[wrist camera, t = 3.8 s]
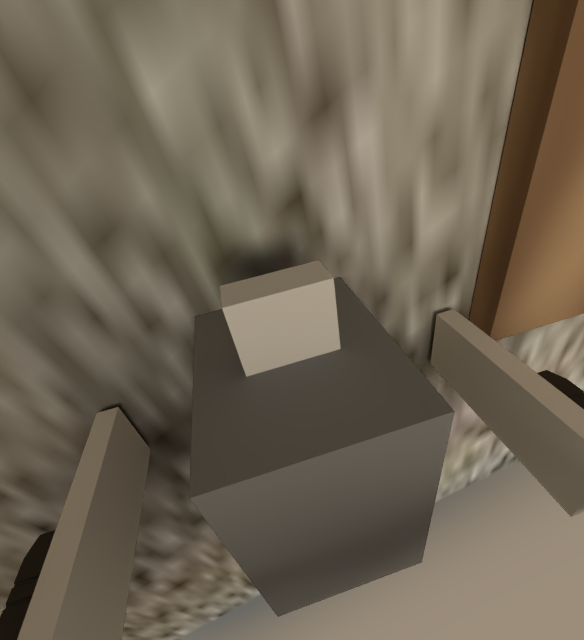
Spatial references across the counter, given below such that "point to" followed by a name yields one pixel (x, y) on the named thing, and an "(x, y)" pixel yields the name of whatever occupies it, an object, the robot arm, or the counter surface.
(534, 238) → the walnut board
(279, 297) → the plug
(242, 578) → the counter surface
